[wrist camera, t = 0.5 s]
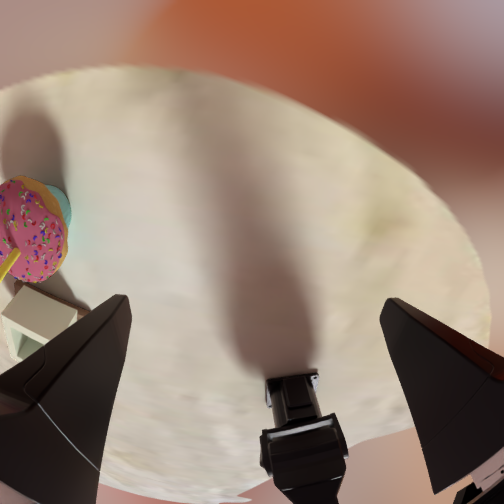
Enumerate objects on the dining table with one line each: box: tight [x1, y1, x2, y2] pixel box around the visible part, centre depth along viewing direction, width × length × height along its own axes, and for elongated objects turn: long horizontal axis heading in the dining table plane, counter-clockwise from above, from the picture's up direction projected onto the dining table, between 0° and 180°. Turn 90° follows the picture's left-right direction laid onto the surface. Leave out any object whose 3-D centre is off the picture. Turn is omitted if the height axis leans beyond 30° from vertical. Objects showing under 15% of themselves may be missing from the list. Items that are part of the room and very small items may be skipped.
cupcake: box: [0, 176, 71, 283], centre depth 15 cm, size 9×8×12 cm
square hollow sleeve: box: [1, 285, 77, 362], centre depth 22 cm, size 7×7×5 cm
